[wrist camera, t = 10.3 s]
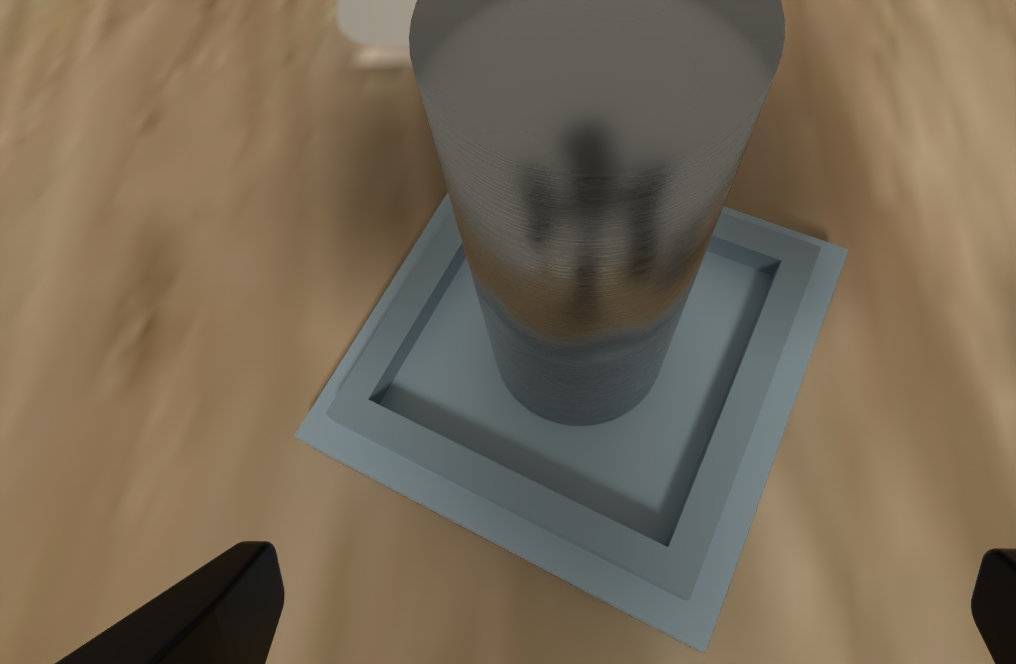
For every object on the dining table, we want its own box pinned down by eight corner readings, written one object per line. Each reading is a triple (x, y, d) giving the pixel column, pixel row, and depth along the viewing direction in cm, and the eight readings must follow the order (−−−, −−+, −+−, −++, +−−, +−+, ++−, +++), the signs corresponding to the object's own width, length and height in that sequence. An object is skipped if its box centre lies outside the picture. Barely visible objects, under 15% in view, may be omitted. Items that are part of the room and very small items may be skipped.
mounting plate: (835, 266, 23) (860, 233, 21) (697, 651, 19) (712, 655, 17) (493, 144, 27) (487, 106, 25) (307, 444, 22) (281, 428, 20)
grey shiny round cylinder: (698, 366, 21) (869, 46, 9) (554, 459, 20) (537, 241, 8) (598, 244, 23) (631, -146, 11) (464, 324, 22) (347, -4, 10)
